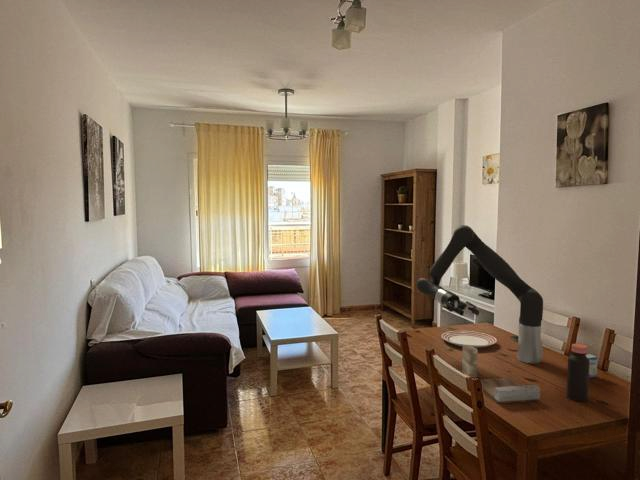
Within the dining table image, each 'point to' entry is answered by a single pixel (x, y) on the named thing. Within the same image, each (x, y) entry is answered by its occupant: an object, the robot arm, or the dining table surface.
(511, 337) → the phone
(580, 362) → the bottle
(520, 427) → the dining table surface
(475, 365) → the cream tall block
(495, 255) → the robot arm
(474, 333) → the dinner plate
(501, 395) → the metal rail
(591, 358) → the medicine box
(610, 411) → the dining table surface
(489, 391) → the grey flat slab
